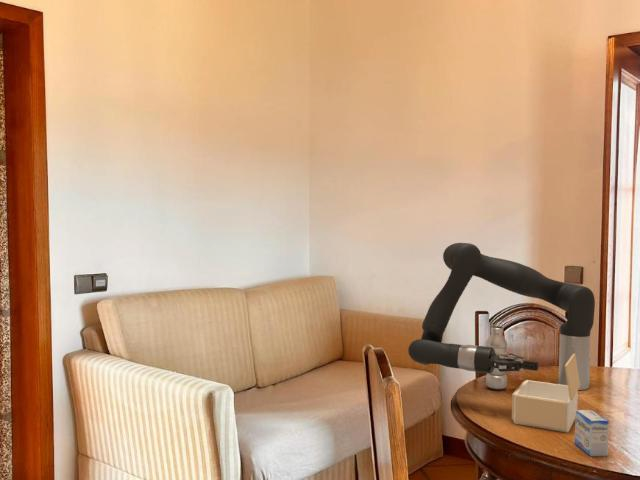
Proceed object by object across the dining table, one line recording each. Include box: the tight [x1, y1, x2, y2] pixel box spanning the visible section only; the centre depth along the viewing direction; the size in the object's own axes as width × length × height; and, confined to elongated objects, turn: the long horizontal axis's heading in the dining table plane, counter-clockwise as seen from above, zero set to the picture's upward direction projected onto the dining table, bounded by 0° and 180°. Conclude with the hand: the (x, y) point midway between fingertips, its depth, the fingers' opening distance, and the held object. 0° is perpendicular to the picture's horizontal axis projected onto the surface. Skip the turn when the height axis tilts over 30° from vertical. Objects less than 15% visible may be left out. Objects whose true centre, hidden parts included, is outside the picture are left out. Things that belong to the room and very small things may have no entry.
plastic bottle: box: [485, 325, 508, 390], centre depth 203 cm, size 6×7×20 cm
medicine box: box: [574, 409, 610, 457], centre depth 153 cm, size 8×4×9 cm, turn 5°
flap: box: [565, 354, 580, 400], centre depth 171 cm, size 15×9×1 cm
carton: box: [511, 379, 579, 433], centre depth 175 cm, size 17×15×8 cm
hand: (538, 366), depth 175 cm, fingers closed
